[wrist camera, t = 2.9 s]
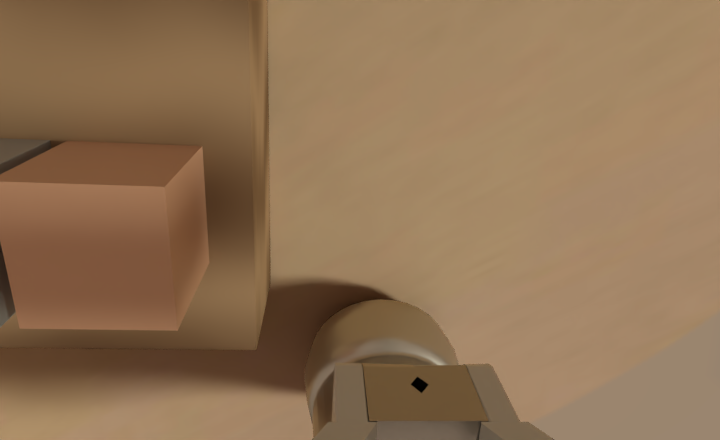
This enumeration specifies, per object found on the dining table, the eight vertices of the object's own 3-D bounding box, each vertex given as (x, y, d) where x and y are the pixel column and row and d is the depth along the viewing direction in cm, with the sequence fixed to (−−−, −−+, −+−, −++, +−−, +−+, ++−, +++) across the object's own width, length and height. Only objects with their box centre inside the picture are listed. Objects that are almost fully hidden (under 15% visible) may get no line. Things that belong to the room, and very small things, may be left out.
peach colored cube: (67, 141, 16) (-13, 180, 12) (202, 146, 16) (164, 186, 12) (86, 259, 17) (19, 328, 13) (209, 262, 18) (177, 330, 14)
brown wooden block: (-50, -26, 18) (-178, -37, 14) (267, -6, 19) (247, -12, 14) (15, 278, 23) (-65, 347, 18) (270, 283, 24) (256, 350, 19)
